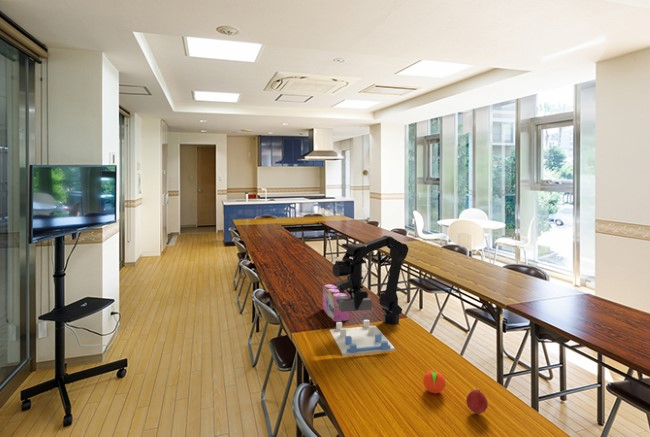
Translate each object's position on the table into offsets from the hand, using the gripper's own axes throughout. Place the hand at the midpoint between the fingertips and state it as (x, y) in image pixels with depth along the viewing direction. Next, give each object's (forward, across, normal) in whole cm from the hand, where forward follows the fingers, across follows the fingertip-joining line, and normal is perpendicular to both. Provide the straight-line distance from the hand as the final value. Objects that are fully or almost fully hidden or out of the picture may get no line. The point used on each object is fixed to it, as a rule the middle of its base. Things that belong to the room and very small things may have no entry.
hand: (355, 308), depth 171 cm
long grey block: (0, 0, 0) cm, 0 cm away
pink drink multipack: (+12, -25, -3) cm, 28 cm away
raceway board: (+12, +8, 0) cm, 14 cm away
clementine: (+12, +51, +12) cm, 54 cm away
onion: (+12, +64, +19) cm, 68 cm away
